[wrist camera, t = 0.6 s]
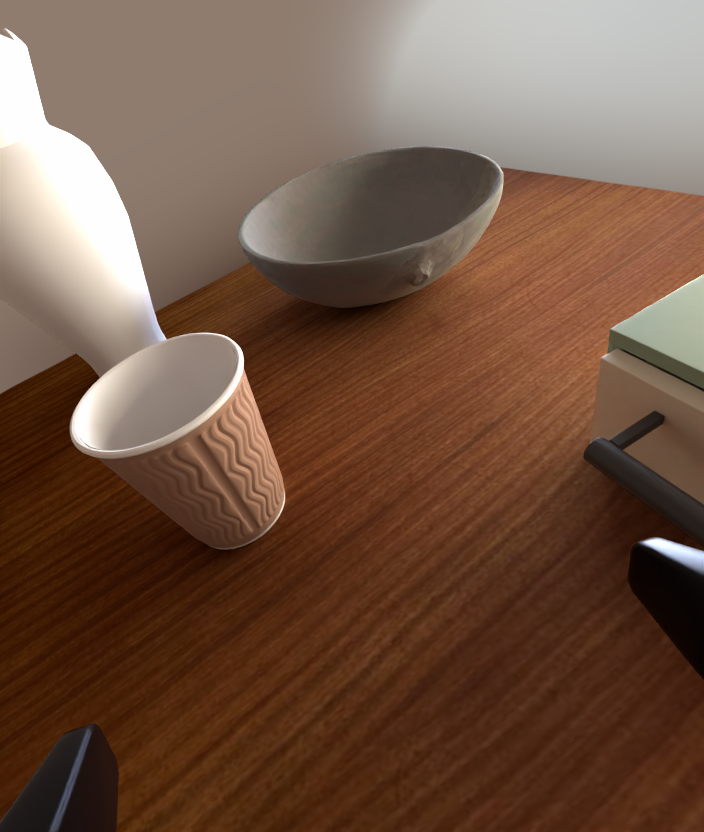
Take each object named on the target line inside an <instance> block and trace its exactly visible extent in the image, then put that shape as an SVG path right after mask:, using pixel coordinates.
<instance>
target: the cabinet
mask: <svg viewBox="0 0 704 832" xmlns="http://www.w3.org/2000/svg"><path fill="white" fill-rule="evenodd" d="M615 349H620V350H622V351H624V352H626V353H628V354H630V355H632V356H634V357H636V358H638V359H640V360H642V361H644V362H646V361H648V362H650V363H652V364H654V365H656V366H658V367H660V368H662V369H664V370H666V371H668V372H670V373H672V374H674V375H676V376H678V377H680V378H682V379H684V380H686V381H688V382H690V383H692V384H694V385H696V386H699V387H701V388H703V389H704V274H703V275H702V276H700V277H698V278H697V279H695V280H693V281H691V282H690V283H688V284H686V285H685V286H683V287H681V288H680V289H678V290H676V291H674V292H673V293H671V294H669V295H668V296H666V297H664V298H663V299H661V300H659V301H657V302H656V303H654V304H652V305H651V306H649V307H647V308H645V309H644V310H642V311H640V312H639V313H637V314H635V315H634V316H632V317H630V318H628V319H627V320H625V321H623V322H622V323H620V324H618V325H616V326H615V327H613V328H611V329H610V335H609V345H608V352H607V354H608V353H610V352H612V351H613V350H615Z"/></svg>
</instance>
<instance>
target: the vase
mask: <svg viewBox="0 0 704 832" xmlns="http://www.w3.org/2000/svg"><path fill="white" fill-rule="evenodd" d="M0 299H2V300H3V301H4V302H6V303H7V304H9V305H10V306H11V307H13V308H14V309H16V310H17V311H18V312H20V313H21V314H23V315H24V316H25V317H27V318H28V319H29V320H31V321H32V322H33V323H35V324H36V325H38V326H39V327H40V328H42V329H43V330H45V331H46V332H47V333H49V334H50V335H51V336H53V337H54V338H56V339H57V340H58V341H60V342H61V343H62V344H64V345H65V346H67V347H68V348H69V349H71V350H72V351H73V352H75V353H76V354H78V355H79V356H80V357H82V358H83V359H84V360H85V361H86V362H87V363H88V364H89V365H90V366H92V368H93V369H94V370H95V372H96V373H97V374H98V375H99V377H100V378H101V377H102V376H103V375H104V374H105V373H107V372H108V371H109V370H110V369H112V368H113V367H114V366H116V365H117V364H119V363H120V362H122V361H123V360H125V359H126V358H128V357H130V356H131V355H133V354H135V353H137V352H139V351H141V350H143V349H145V348H147V347H149V346H151V345H154V344H156V343H159V342H161V341H164V340H167V339H166V338H165V336H164V335H163V333H162V331H161V329H160V327H159V325H158V322H157V320H156V316H155V313H154V309H153V305H152V302H151V298H150V294H149V291H148V287H147V284H146V280H145V276H144V272H143V269H142V265H141V261H140V258H139V254H138V250H137V247H136V243H135V239H134V236H133V232H132V229H131V225H130V221H129V217H128V214H127V212H126V210H125V208H124V206H123V203H122V201H121V200H120V197H119V195H118V192H117V190H116V188H115V186H114V184H113V181H112V180H111V178H110V177H109V175H108V174H107V173H106V171H105V170H104V168H103V167H102V165H101V164H100V162H99V161H98V159H97V158H96V156H95V155H94V153H93V152H92V151H91V149H90V147H89V146H88V145H86V144H85V143H83V142H82V141H80V140H79V139H77V138H76V137H74V136H73V135H71V134H69V133H67V132H65V131H62V130H60V129H57V128H55V127H53V126H50V125H48V123H47V121H46V120H45V117H44V113H43V109H42V105H41V101H40V97H39V93H38V89H37V85H36V81H35V77H34V73H33V70H32V65H31V62H30V58H29V54H28V50H27V46H26V45H25V44H24V43H23V42H22V41H21V40H19V39H18V38H17V37H16V36H15V35H14V34H13V33H12V32H10V31H9V30H7V29H4V31H3V35H2V34H0Z"/></svg>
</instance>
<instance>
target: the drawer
mask: <svg viewBox="0 0 704 832" xmlns="http://www.w3.org/2000/svg"><path fill="white" fill-rule="evenodd" d="M584 459H585V460H586V461H588V462H589V463H590V464H592V465H593V466H594V467H596V468H597V469H598V470H600V471H601V472H602V473H604V474H605V475H607V476H608V477H609V478H611V479H612V480H613V481H615V482H616V483H617V484H619V485H620V486H621V487H623V488H624V489H626V490H627V491H628V492H630V493H631V494H632V495H634V496H635V497H636V498H638V499H639V500H641V501H642V502H643V503H645V504H646V505H647V506H649V507H650V508H651V509H653V510H654V511H655V512H657V513H658V514H660V515H661V516H662V517H664V518H665V519H666V520H668V521H669V522H670V523H672V524H673V525H674V526H676V527H677V528H679V529H680V530H681V531H683V532H684V533H685V534H687V535H688V536H689V537H691V538H692V539H694V540H695V541H696V542H698V543H699V544H700V545H702V546H703V547H704V389H703V388H701V387H699V386H696V385H694V384H692V383H690V382H688V381H686V380H684V379H682V378H680V377H678V376H676V375H674V374H672V373H670V372H668V371H666V370H664V369H662V368H660V367H658V366H656V365H654V364H652V363H650V362H648V361H646V362H644V361H642V360H640V359H638V358H636V357H634V356H632V355H630V354H628V353H626V352H624V351H622V350H620V349H615V350H613V351H612V352H610V353H608V354H607V355H605V356H603V357H602V358H601V361H600V369H599V377H598V385H597V394H596V402H595V410H594V418H593V426H592V434H591V442H590V444H589V445H588V447H587V448H586V450H585V452H584Z"/></svg>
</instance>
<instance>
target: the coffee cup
mask: <svg viewBox="0 0 704 832" xmlns="http://www.w3.org/2000/svg"><path fill="white" fill-rule="evenodd" d="M234 352H235V353H234ZM235 354H236V355H235ZM236 357H237V358H236ZM243 366H244V358H243V353H242V351H241V349H240V347H239V346H238V345H237V344H236V343H235V342H234V341H233V340H231V339H230V338H228V337H226V336H223V335H220V334H214V333H193V334H187V335H182V336H177V337H174V338H170V339H167V340H164V341H161V342H159V343H156V344H154V345H151V346H149V347H147V348H145V349H143V350H141V351H139V352H137V353H135V354H133V355H131V356H130V357H128V358H126V359H125V360H123V361H122V362H120V363H119V364H117V365H116V366H114V367H113V368H112V369H110V370H109V371H108V372H107V373H105V374H104V375H103V376H102V377H101V378H100V379H98V380H97V381H96V382H95V383H94V384H93V385H92V386H91V387H90V389H89V390H88V391H87V392H86V393H85V395H84V396H83V397H82V399H81V400H80V401H79V403H78V405H77V406H76V408H75V410H74V412H73V415H72V418H71V422H70V435H71V439H72V441H73V443H74V445H75V446H76V447H77V448H78V449H79V450H80V451H82V452H83V453H85V454H88V455H90V456H93V457H96V458H98V459H99V460H100V461H101V462H103V463H104V464H105V465H106V466H107V467H109V468H110V469H111V470H112V471H114V472H115V473H116V474H117V475H119V476H120V477H121V478H122V479H123V480H125V481H126V482H127V483H128V484H129V485H131V486H132V487H133V488H134V489H136V490H137V491H138V492H139V493H140V494H142V495H143V496H144V497H145V498H147V499H148V500H149V501H150V502H152V503H153V504H154V505H155V506H157V507H158V508H159V509H160V510H161V511H162V512H164V513H165V514H166V515H167V516H169V517H170V518H171V519H172V520H174V521H175V522H176V523H177V524H178V525H180V526H181V527H182V528H184V529H185V530H186V531H187V532H188V533H189V534H191V535H192V536H193V537H194V538H196V539H197V540H199V541H202V542H204V543H205V544H207V545H209V546H210V547H213V548H216V549H224V550H226V549H235V548H239V547H242V546H245V545H247V544H249V543H252V542H254V541H255V540H257V539H258V538H260V537H261V536H263V535H264V534H265V533H266V532H267V531H268V530H269V529H270V528H271V527H272V526H273V525H274V524H275V522H276V521H277V519H278V518H279V516H280V514H281V512H282V509H283V507H284V502H285V490H284V485H283V481H282V480H283V478H282V475H281V472H280V469H279V466H278V464H277V461H276V458H275V455H274V452H273V450H272V447H271V444H270V441H269V438H268V436H267V433H266V430H265V427H264V424H263V422H262V419H261V416H260V413H259V410H258V408H257V405H256V402H255V399H254V396H253V393H252V391H251V388H250V385H249V383H248V380H247V377H246V374H245V371H244V368H243ZM80 438H81V439H80ZM82 441H83V442H84V443H85V444H84V443H83V442H82Z"/></svg>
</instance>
